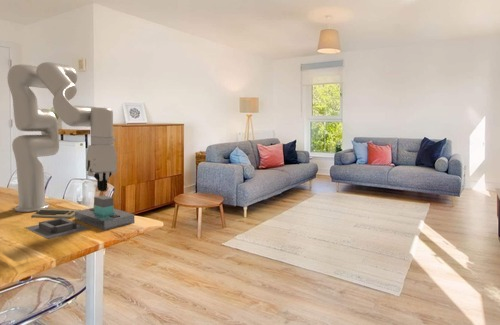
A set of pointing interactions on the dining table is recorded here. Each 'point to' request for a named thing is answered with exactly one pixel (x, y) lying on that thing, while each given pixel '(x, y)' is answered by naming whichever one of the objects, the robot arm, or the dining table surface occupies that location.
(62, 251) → the dining table surface
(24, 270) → the dining table surface
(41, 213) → the computer
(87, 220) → the port block
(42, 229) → the plate
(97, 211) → the plug
